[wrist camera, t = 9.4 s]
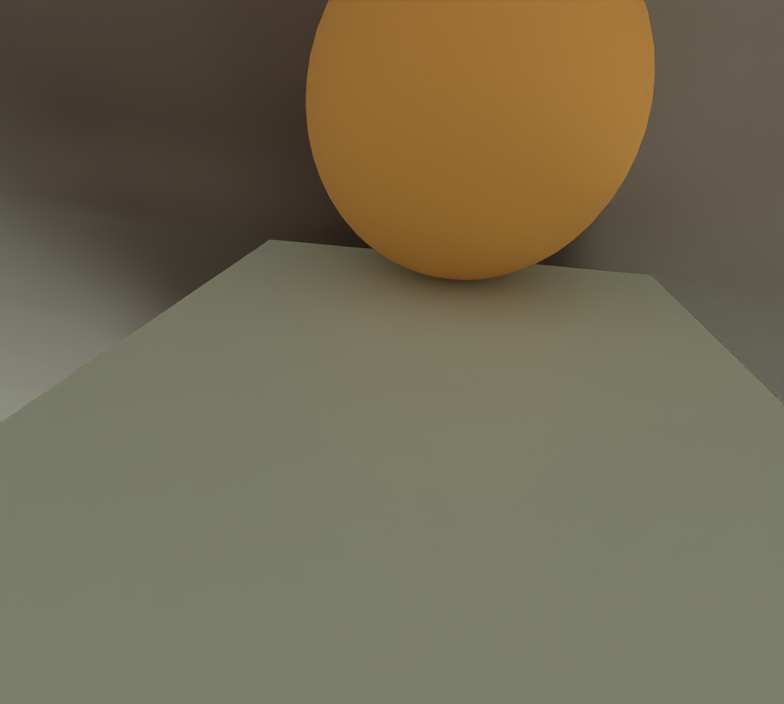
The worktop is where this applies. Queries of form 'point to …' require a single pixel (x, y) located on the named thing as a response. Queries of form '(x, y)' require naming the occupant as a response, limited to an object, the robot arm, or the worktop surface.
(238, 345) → the pale green cube
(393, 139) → the ball
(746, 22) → the worktop surface
